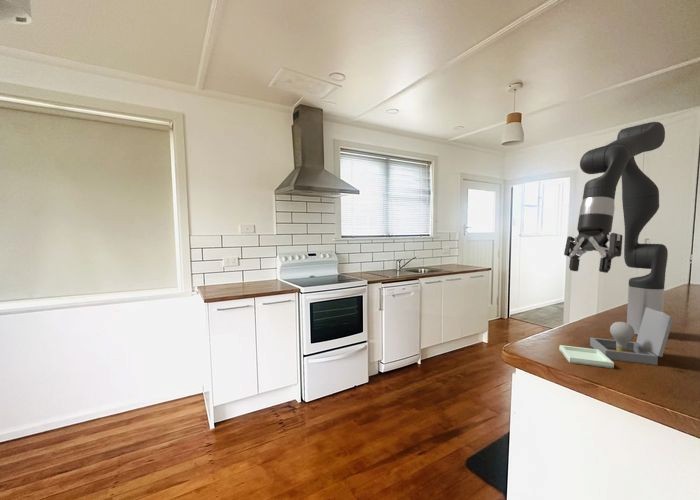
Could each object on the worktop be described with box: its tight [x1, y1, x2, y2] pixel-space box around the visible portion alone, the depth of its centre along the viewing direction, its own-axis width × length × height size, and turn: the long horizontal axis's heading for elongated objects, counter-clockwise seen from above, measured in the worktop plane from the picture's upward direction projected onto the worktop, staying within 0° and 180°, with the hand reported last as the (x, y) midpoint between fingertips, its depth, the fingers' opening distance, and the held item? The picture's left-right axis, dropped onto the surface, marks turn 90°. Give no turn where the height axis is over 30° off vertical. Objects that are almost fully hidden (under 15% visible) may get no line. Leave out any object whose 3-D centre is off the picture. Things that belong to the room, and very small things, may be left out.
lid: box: [635, 307, 675, 358], centre depth 86 cm, size 12×12×1 cm
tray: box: [558, 344, 615, 369], centre depth 86 cm, size 10×10×2 cm
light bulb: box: [609, 321, 635, 352], centre depth 89 cm, size 5×6×10 cm
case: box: [589, 337, 659, 366], centre depth 89 cm, size 12×12×2 cm
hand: (587, 271), depth 82 cm, fingers open, 8 cm apart
